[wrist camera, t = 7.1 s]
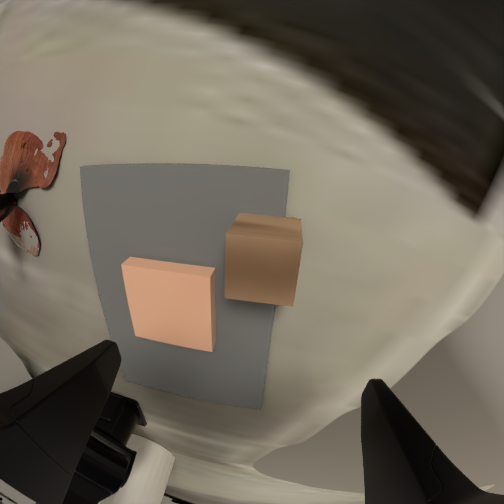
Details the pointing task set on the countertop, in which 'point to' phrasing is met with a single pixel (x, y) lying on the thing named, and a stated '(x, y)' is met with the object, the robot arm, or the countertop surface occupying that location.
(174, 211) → the mat
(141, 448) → the bottle
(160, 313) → the tile
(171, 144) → the countertop surface
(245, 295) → the cube
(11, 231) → the figurine
